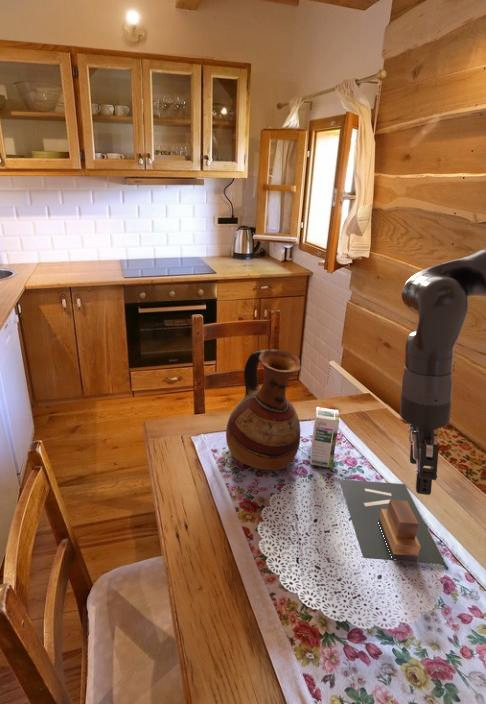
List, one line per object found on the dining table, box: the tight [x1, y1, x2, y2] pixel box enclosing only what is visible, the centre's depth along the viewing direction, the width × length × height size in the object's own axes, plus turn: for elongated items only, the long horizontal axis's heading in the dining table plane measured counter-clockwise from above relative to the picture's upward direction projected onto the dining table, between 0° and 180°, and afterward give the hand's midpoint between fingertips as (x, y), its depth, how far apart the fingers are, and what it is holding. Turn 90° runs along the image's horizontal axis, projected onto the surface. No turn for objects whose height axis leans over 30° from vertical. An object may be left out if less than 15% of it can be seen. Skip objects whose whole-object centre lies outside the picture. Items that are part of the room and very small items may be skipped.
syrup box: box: [309, 406, 340, 469], centre depth 106 cm, size 6×6×14 cm
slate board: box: [338, 478, 446, 565], centre depth 90 cm, size 16×22×1 cm
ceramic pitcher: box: [225, 348, 302, 471], centre depth 105 cm, size 20×20×30 cm
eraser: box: [378, 500, 421, 563], centre depth 83 cm, size 5×9×8 cm, turn 177°
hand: (419, 477), depth 72 cm, fingers open, 8 cm apart
